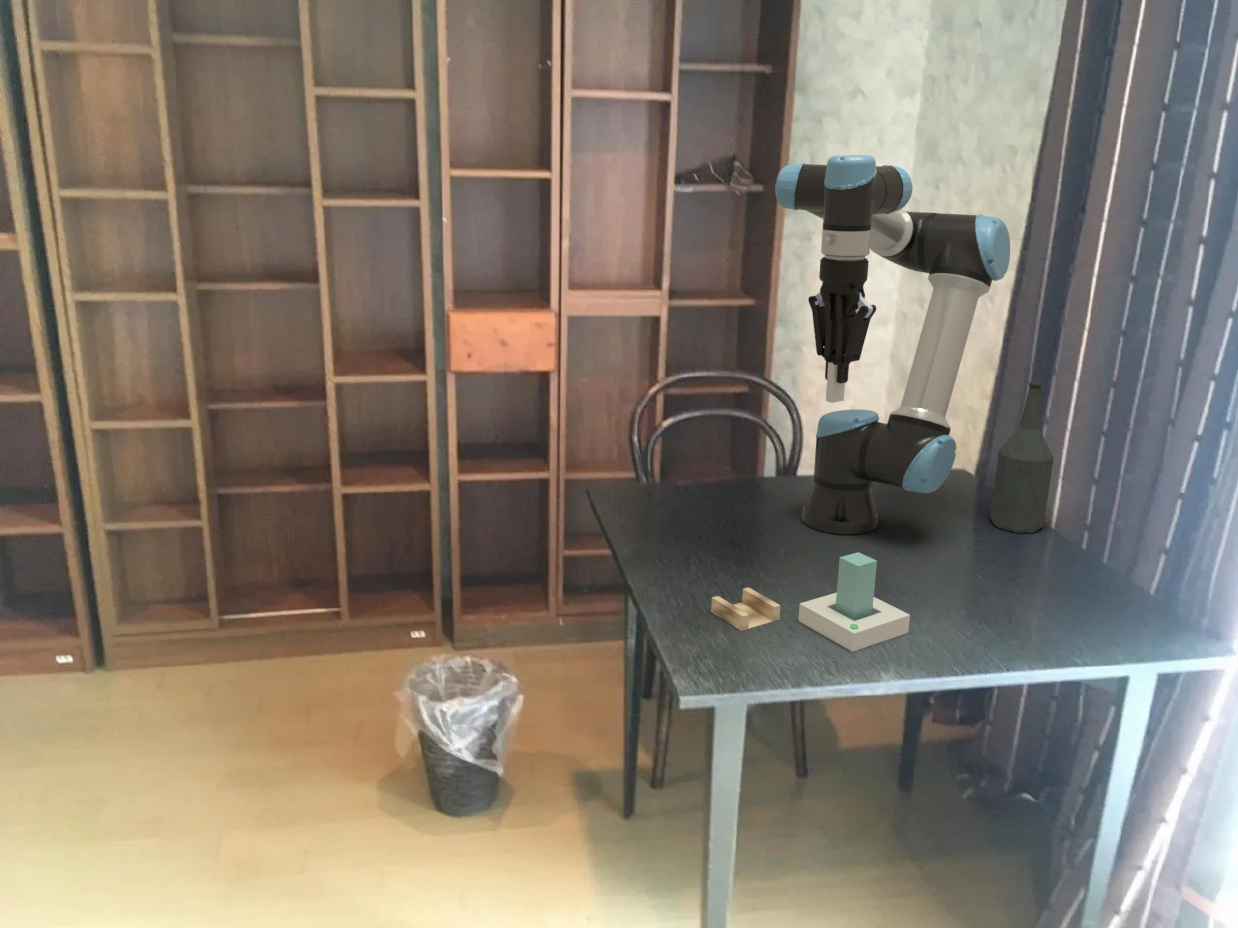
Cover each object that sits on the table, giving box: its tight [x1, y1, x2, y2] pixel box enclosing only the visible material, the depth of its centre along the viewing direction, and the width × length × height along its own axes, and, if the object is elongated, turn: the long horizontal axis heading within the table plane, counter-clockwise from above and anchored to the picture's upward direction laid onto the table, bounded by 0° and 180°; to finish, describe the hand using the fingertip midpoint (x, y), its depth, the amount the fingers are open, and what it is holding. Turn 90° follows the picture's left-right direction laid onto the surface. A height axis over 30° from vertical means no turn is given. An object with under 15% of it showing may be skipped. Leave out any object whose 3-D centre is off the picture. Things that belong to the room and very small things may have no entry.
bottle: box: [989, 381, 1054, 532], centre depth 205 cm, size 10×10×30 cm
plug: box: [835, 551, 878, 621], centre depth 160 cm, size 4×4×12 cm
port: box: [798, 592, 911, 653], centre depth 161 cm, size 12×12×5 cm
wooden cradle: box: [710, 587, 781, 632], centre depth 165 cm, size 8×8×4 cm
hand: (834, 400), depth 170 cm, fingers closed
